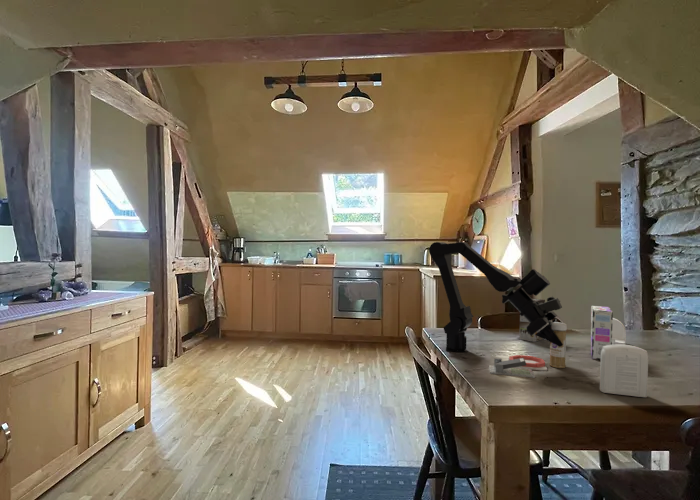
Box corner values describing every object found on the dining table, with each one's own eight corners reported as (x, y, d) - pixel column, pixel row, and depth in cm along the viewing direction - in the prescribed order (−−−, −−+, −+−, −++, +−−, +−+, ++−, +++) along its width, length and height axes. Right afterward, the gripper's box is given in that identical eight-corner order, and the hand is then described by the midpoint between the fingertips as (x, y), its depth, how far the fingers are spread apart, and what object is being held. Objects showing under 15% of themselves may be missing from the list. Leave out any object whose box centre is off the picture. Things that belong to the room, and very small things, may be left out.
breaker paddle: (497, 366, 118) (525, 361, 116) (496, 362, 122) (523, 357, 120) (498, 370, 118) (526, 365, 116) (497, 366, 122) (524, 361, 120)
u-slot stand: (625, 343, 159) (625, 316, 159) (624, 353, 144) (625, 322, 144) (596, 340, 164) (597, 313, 164) (593, 349, 149) (593, 319, 149)
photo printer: (643, 393, 103) (644, 344, 103) (650, 399, 99) (651, 348, 99) (597, 388, 106) (598, 341, 106) (602, 394, 102) (603, 345, 102)
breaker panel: (490, 373, 117) (490, 363, 117) (488, 366, 124) (489, 357, 124) (535, 377, 114) (535, 367, 114) (531, 370, 121) (531, 360, 121)
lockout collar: (511, 367, 124) (511, 362, 124) (508, 359, 133) (508, 354, 133) (547, 370, 121) (547, 365, 121) (541, 361, 131) (541, 356, 131)
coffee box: (535, 342, 158) (535, 301, 158) (518, 339, 163) (519, 299, 163) (544, 338, 164) (545, 299, 164) (528, 336, 169) (529, 297, 169)
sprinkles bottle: (547, 366, 125) (548, 323, 125) (551, 363, 129) (552, 321, 129) (564, 369, 122) (564, 325, 122) (567, 366, 126) (568, 323, 126)
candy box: (612, 361, 132) (613, 311, 132) (591, 359, 134) (592, 309, 134) (609, 352, 144) (610, 306, 144) (590, 350, 147) (590, 304, 146)
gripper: (538, 291, 120) (580, 333, 114) (550, 286, 135) (588, 323, 129) (510, 314, 125) (549, 356, 118) (525, 307, 140) (560, 344, 134)
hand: (563, 344), depth 125 cm, fingers closed on sprinkles bottle, 4 cm apart
